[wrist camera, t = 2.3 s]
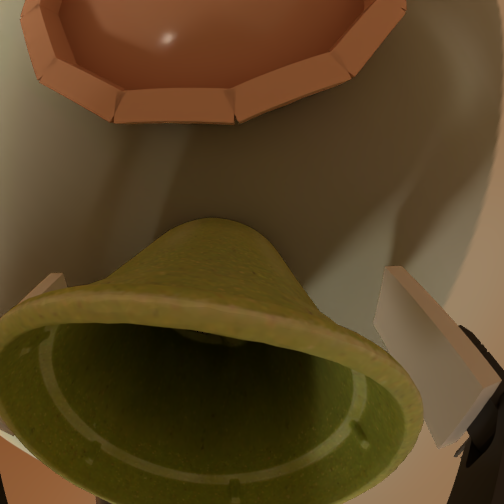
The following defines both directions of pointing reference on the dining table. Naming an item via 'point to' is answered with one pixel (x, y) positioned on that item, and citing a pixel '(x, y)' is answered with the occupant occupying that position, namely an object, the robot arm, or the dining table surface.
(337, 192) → the dining table surface
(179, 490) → the plant pot
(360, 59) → the terracotta plant saucer
